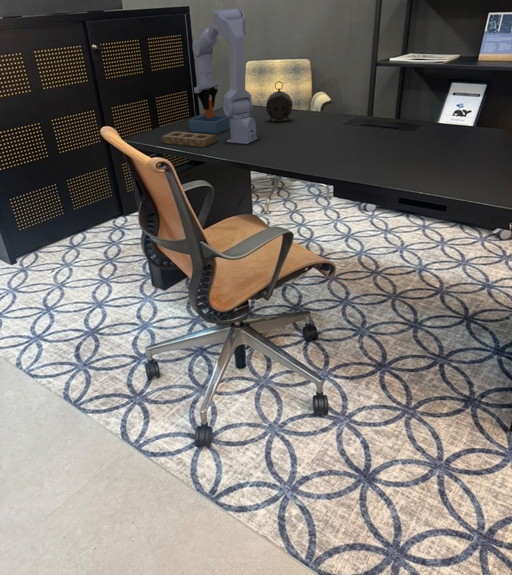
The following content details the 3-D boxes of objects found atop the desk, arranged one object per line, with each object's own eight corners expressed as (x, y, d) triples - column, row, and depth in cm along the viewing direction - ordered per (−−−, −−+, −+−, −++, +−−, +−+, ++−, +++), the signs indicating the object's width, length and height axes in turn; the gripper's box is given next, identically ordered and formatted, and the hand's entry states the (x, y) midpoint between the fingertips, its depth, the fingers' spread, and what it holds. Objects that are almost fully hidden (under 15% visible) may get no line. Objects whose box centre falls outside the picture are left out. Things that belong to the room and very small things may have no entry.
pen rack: (216, 141, 193) (215, 134, 191) (204, 147, 187) (203, 140, 186) (175, 137, 202) (174, 131, 201) (162, 142, 196) (161, 136, 195)
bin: (232, 127, 212) (231, 115, 209) (216, 133, 203) (215, 122, 201) (205, 125, 218) (204, 114, 216) (189, 131, 209) (188, 120, 207)
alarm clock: (292, 119, 217) (291, 79, 208) (292, 122, 212) (291, 81, 204) (267, 120, 218) (265, 80, 210) (266, 123, 213) (264, 83, 205)
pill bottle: (215, 116, 208) (213, 94, 204) (210, 118, 206) (208, 96, 202) (208, 115, 210) (206, 94, 206) (204, 117, 208) (201, 96, 203)
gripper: (207, 70, 206) (211, 104, 213) (186, 75, 196) (190, 111, 203) (221, 70, 203) (224, 105, 210) (200, 76, 193) (204, 112, 200)
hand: (208, 108), depth 206 cm, fingers closed on pill bottle, 3 cm apart
